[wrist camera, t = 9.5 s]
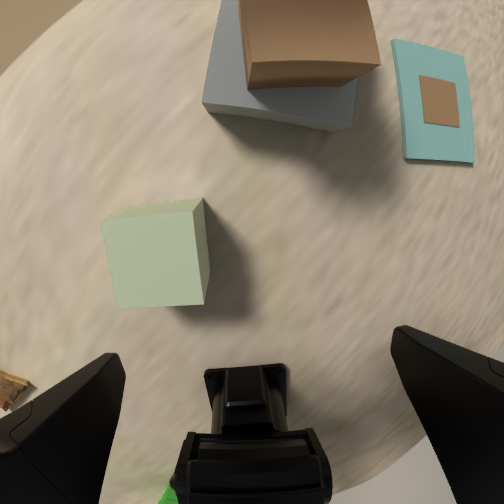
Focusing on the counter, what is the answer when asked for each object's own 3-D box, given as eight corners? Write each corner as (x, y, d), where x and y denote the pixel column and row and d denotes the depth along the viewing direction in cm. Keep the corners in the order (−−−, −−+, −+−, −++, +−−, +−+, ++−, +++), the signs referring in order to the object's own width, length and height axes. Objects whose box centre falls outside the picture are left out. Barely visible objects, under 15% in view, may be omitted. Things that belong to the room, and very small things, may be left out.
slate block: (330, 132, 19) (352, 128, 15) (208, 113, 18) (201, 102, 14) (342, 30, 16) (363, 8, 13) (228, 8, 16) (226, -20, 12)
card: (470, 162, 19) (475, 162, 19) (403, 157, 19) (407, 158, 18) (460, 57, 16) (464, 56, 16) (390, 40, 16) (394, 38, 16)
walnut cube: (340, 87, 14) (380, 64, 9) (247, 89, 14) (252, 62, 9) (327, 9, 13) (358, -32, 8) (238, 9, 13) (239, -38, 8)
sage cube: (210, 270, 21) (203, 304, 16) (141, 275, 21) (118, 307, 16) (203, 197, 19) (192, 211, 15) (130, 205, 19) (100, 221, 15)
